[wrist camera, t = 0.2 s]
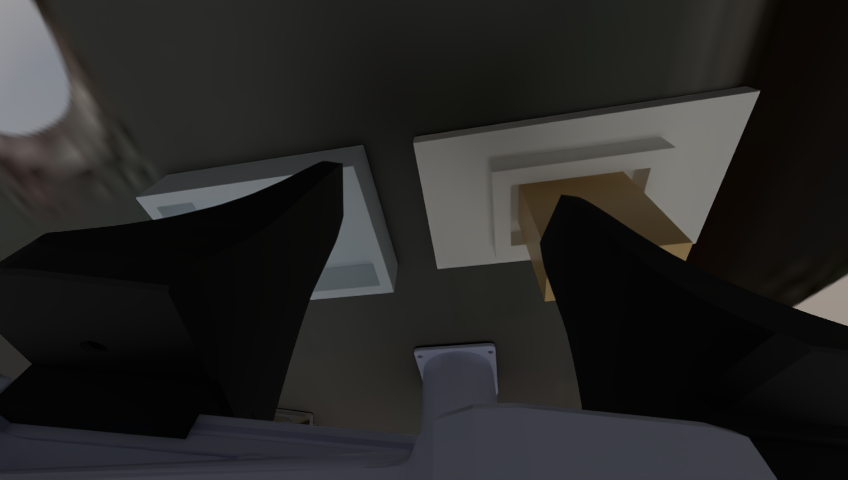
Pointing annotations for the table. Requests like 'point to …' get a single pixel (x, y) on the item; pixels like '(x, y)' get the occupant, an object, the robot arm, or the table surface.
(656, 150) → the box
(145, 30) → the table surface
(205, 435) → the robot arm
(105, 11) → the table surface
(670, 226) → the block
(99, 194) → the table surface
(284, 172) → the parts tray
